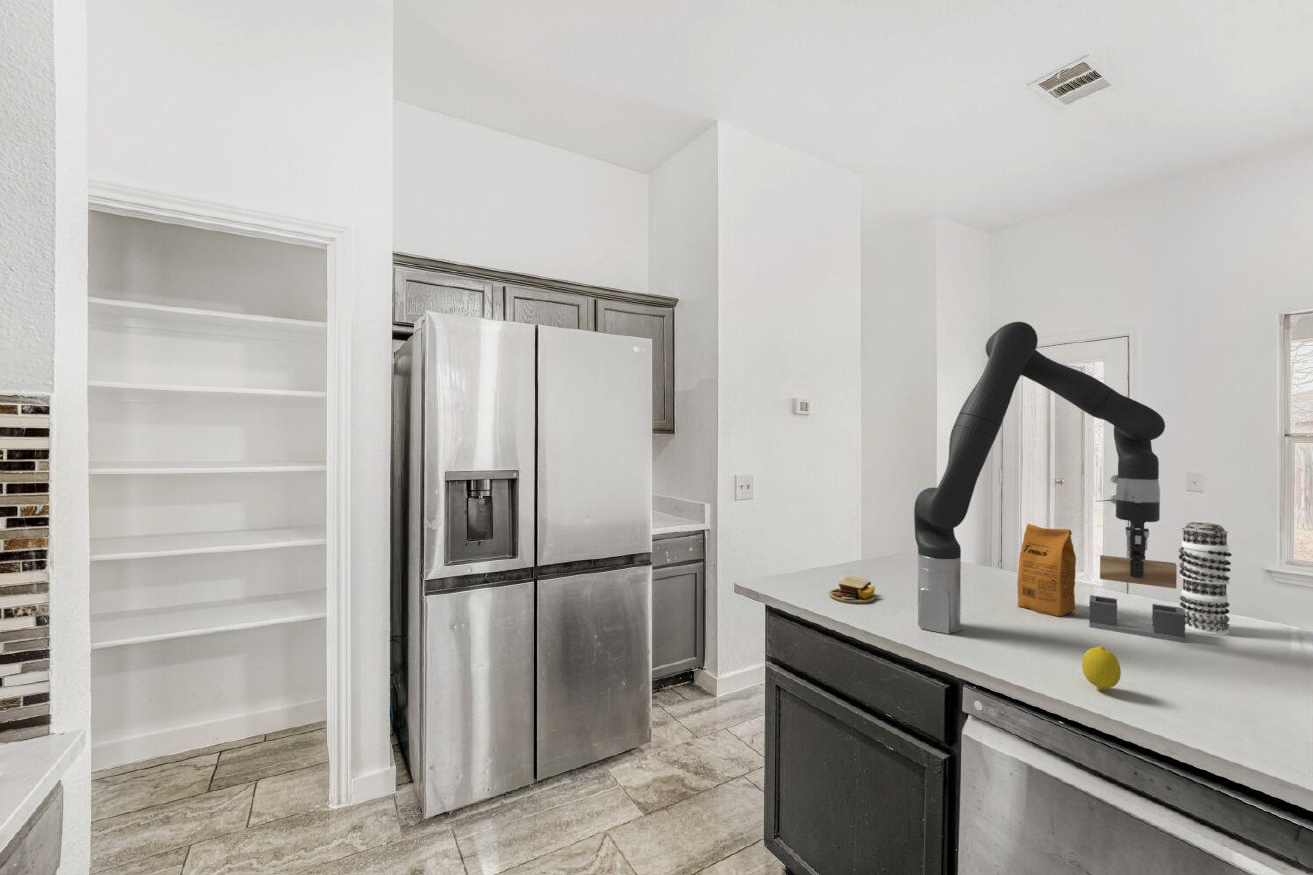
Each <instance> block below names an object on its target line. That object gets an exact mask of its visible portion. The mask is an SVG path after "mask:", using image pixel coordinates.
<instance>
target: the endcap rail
mask: <svg viewBox="0 0 1313 875" xmlns="http://www.w3.org/2000/svg"><path fill="white" fill-rule="evenodd" d="M1151 610H1152V612H1151V613H1152V615H1151V618H1152V619H1151V620H1152V621H1151V623H1150V622H1149V623H1147V622H1143V621H1142V622H1141V621H1134V620H1127V619H1122V618H1118V600H1117V598H1114V597H1107V596H1099V595H1094V594H1093V595H1091V594H1090V596H1089V614H1088V615H1089V624H1088V625H1089V627H1088V628H1093V627H1096V628H1095V629H1099V628H1100V630H1105V629H1106V631H1111V630H1112V632H1117V631H1118V632H1117V633H1123V632H1127V633H1126V634H1129V633H1132V634H1131V635H1135V634H1137V636H1141V635H1142V637H1147V636H1148V638H1154V639H1160V640H1165V639H1166V641H1171V642H1179V643H1183V644H1185V643H1186V629H1185V614H1184V611H1183V607H1180V606H1179V607H1178V606H1171V605H1165V604H1156V603H1152V609H1151Z"/></svg>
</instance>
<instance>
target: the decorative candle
mask: <svg viewBox="0 0 1313 875" xmlns="http://www.w3.org/2000/svg"><path fill="white" fill-rule="evenodd" d="M1181 530H1182V532H1183V533H1182V540H1181V547H1180V548H1178V553H1179V555H1178V559H1179V560H1180V561H1182V562H1180V563H1179V567H1180V568H1181V569H1179V572H1178V573H1179V574H1180V576H1179V577H1180V578H1181V579H1182V588H1181V596H1180V597H1179V600H1181V601H1182V602H1180V603H1179V607H1181V608H1182V609H1183V611H1184V614H1185V630H1188V631H1191V632H1196V633H1199V634H1206V635H1214V636H1227V635H1228V634H1230V631H1229V630H1228V629H1229V628H1230V624H1229V622H1230V617H1229V616H1228V615H1227V614H1229V613H1230V610H1229V609H1228V607H1230V603H1229V602H1228V601H1229V600H1228V598H1229V597H1228V594H1227V585H1229V584H1230V580H1231V578H1230V577H1229V576H1228V575H1227V573H1229V572H1231V571H1232V570H1231V568H1229V567H1228V566H1231V564H1232V562H1231V561H1229V560H1228V559H1227V558H1230V557H1231V556H1232V553H1230V552H1229V551H1230V549H1229V545H1228V543H1227V541H1228V539H1227V538H1228V535H1227V534H1229V531H1227V530H1225V528H1224V527H1223V526H1222V525H1221V524H1218V523H1210V522H1192V521H1191V522H1188V523H1187V524H1186V525H1185V527H1182V528H1181Z"/></svg>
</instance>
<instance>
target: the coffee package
mask: <svg viewBox="0 0 1313 875" xmlns="http://www.w3.org/2000/svg"><path fill="white" fill-rule="evenodd" d="M1072 534H1073V533H1072V530H1071V529H1066V528H1044V527H1040V526H1037V525H1034V524H1030V523H1027V524H1026V528H1025V532H1024V534H1023V540H1022V544H1021V550H1020V553H1019V559H1018V560H1019V562H1018V573H1017V607H1018V608H1025V609H1029V610H1032V611H1035V612H1037V613H1039V614H1045V615H1050V616H1056V617H1062V616H1064V615H1066V614H1069V613H1072V612H1074V611H1076V597H1075V586H1076V564H1077V557H1076V553H1075V550H1074V545H1073V541H1072Z"/></svg>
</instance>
